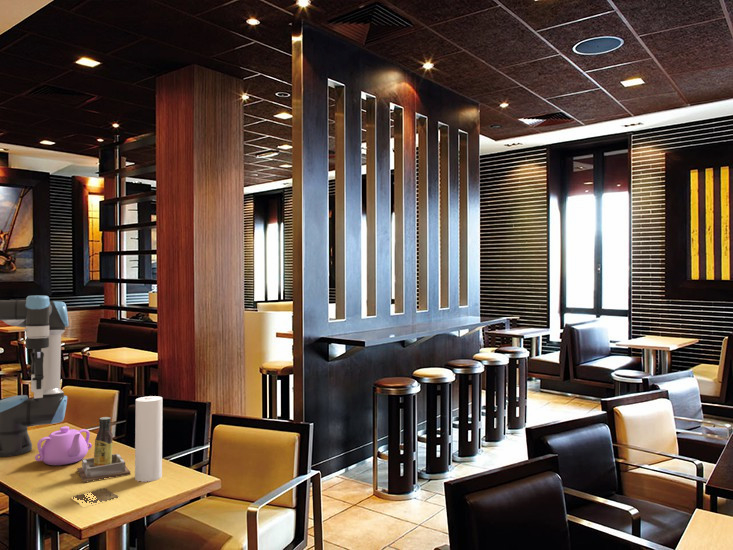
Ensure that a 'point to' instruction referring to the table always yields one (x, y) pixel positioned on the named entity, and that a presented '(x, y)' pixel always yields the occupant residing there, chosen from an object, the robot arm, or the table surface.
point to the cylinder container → (148, 438)
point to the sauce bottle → (103, 443)
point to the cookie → (98, 495)
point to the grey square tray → (102, 469)
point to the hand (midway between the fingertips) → (36, 394)
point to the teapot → (63, 446)
